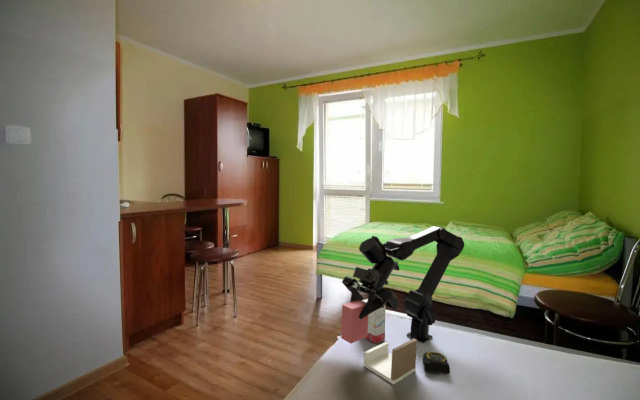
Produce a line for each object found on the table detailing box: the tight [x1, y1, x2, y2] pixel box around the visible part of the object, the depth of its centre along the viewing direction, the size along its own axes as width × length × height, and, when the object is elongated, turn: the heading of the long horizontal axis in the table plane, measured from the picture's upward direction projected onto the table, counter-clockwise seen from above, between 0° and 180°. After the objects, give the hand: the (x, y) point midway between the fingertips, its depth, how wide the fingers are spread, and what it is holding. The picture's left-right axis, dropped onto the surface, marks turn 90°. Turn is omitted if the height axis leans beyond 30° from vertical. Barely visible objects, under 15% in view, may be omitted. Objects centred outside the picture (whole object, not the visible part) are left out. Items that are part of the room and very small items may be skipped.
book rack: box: [363, 338, 418, 385], centre depth 88 cm, size 10×10×9 cm
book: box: [340, 300, 368, 345], centre depth 92 cm, size 7×4×10 cm, turn 130°
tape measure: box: [422, 351, 451, 375], centre depth 89 cm, size 7×7×4 cm
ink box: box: [362, 298, 387, 344], centre depth 106 cm, size 9×5×12 cm, turn 33°
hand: (354, 315), depth 91 cm, fingers closed on book, 4 cm apart
